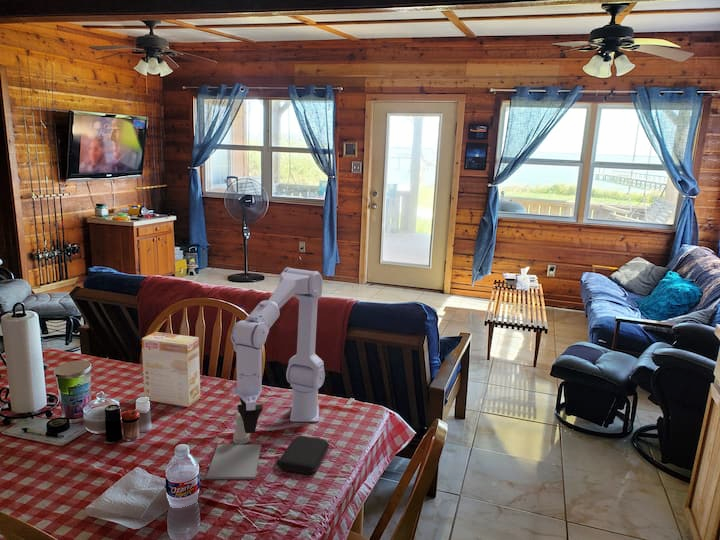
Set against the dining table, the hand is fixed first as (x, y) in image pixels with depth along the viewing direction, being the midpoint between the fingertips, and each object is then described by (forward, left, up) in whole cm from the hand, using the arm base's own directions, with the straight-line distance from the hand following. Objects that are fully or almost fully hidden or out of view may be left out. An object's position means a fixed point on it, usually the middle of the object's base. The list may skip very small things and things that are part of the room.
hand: (249, 424), depth 130 cm
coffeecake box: (-35, -27, -11) cm, 45 cm away
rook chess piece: (-11, -3, -11) cm, 15 cm away
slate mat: (-1, -3, -10) cm, 11 cm away
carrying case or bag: (-2, +13, -11) cm, 17 cm away
